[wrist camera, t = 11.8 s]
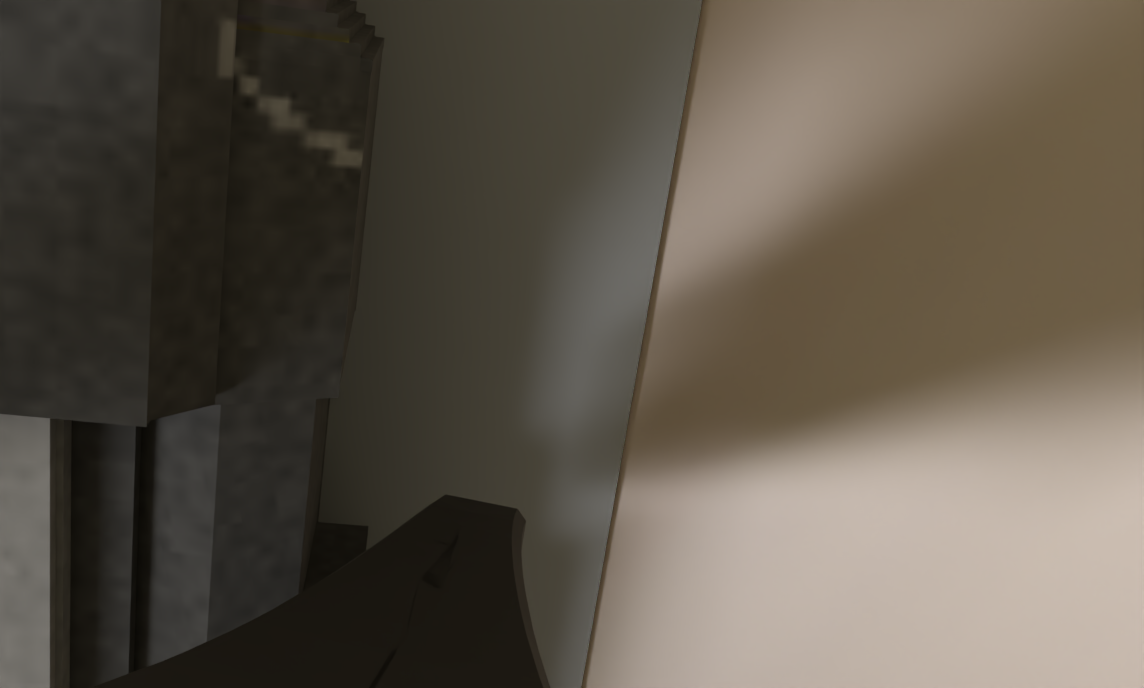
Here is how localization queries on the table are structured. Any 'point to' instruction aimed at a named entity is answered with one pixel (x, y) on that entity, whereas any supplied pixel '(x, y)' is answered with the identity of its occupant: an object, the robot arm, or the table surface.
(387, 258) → the grey thin plate
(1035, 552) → the table surface
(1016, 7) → the table surface
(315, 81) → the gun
